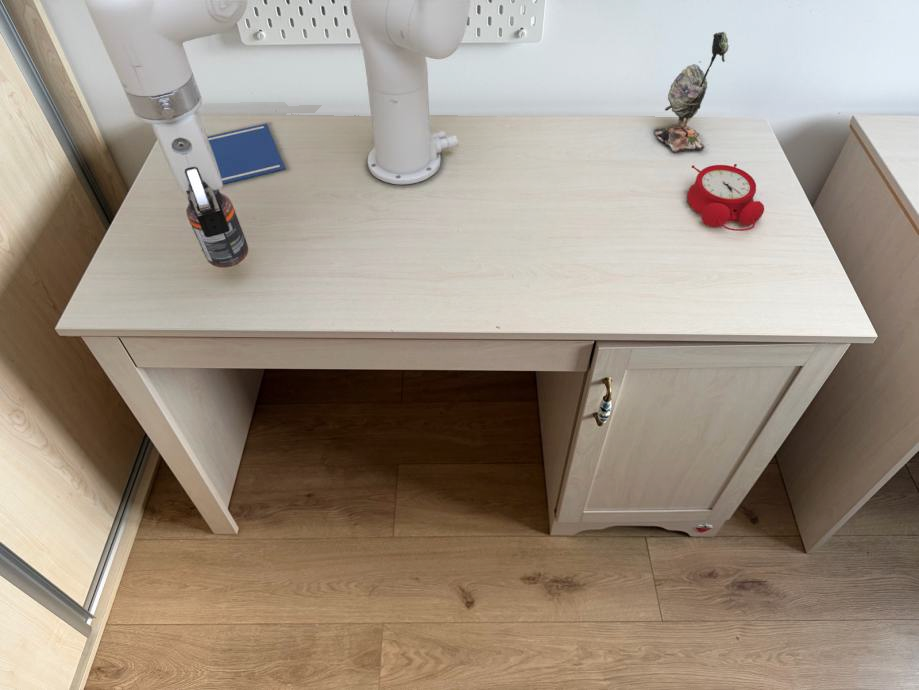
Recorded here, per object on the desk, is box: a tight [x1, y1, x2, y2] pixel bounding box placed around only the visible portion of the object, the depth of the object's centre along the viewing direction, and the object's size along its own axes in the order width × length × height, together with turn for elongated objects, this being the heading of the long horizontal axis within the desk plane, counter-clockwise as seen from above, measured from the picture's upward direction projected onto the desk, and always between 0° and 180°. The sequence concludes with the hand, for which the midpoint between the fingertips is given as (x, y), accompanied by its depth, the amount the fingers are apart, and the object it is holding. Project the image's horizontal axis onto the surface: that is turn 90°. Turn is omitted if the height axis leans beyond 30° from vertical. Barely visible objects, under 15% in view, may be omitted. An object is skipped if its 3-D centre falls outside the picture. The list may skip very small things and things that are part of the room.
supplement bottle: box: [186, 182, 249, 269], centre depth 91 cm, size 6×6×11 cm
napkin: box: [207, 123, 286, 185], centre depth 119 cm, size 15×15×1 cm
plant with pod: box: [653, 31, 730, 153], centre depth 114 cm, size 8×11×20 cm
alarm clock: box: [686, 163, 765, 232], centre depth 107 cm, size 10×6×15 cm
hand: (212, 216), depth 90 cm, fingers closed on supplement bottle, 5 cm apart
